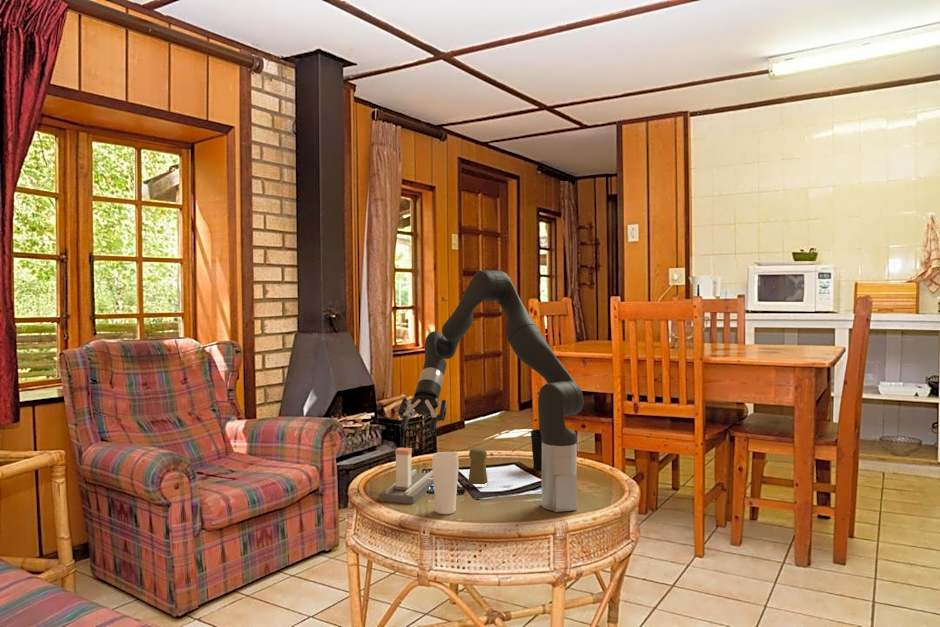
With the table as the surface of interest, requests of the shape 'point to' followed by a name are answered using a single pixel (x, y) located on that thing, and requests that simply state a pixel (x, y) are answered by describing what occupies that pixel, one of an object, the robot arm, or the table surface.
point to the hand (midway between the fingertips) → (417, 429)
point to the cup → (537, 449)
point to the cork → (478, 466)
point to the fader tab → (403, 468)
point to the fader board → (413, 493)
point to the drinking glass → (445, 481)
